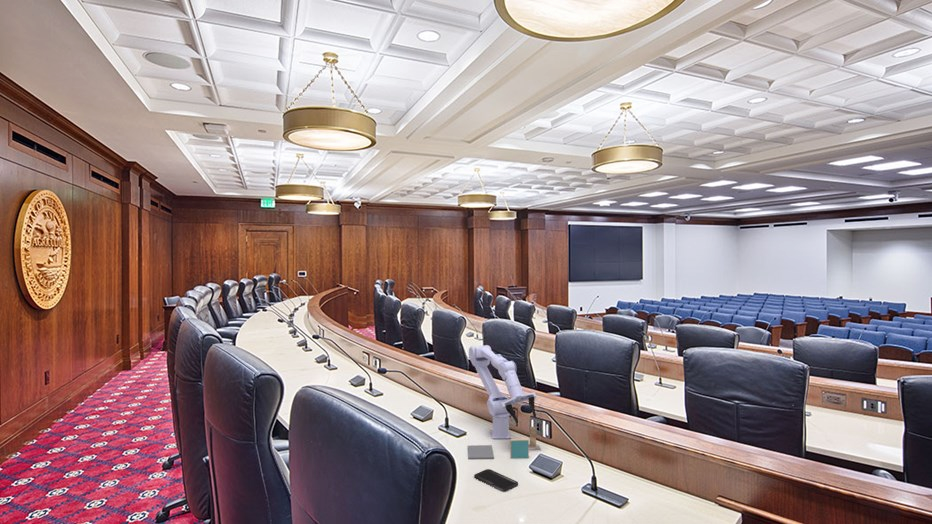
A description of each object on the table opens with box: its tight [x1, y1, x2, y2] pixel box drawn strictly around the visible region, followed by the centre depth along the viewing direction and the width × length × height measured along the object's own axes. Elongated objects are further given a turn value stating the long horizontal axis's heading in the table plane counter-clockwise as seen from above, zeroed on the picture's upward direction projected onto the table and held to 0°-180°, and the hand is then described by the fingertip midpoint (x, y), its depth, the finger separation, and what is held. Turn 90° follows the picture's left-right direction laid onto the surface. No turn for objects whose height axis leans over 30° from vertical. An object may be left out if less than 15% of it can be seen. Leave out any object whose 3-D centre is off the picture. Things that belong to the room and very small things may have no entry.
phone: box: [473, 468, 519, 493], centre depth 156 cm, size 8×1×15 cm
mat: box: [467, 444, 495, 460], centre depth 180 cm, size 12×10×1 cm
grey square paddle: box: [529, 426, 542, 452], centre depth 184 cm, size 5×5×8 cm
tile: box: [509, 438, 530, 459], centre depth 175 cm, size 1×7×7 cm, turn 91°
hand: (526, 419), depth 180 cm, fingers open, 7 cm apart
